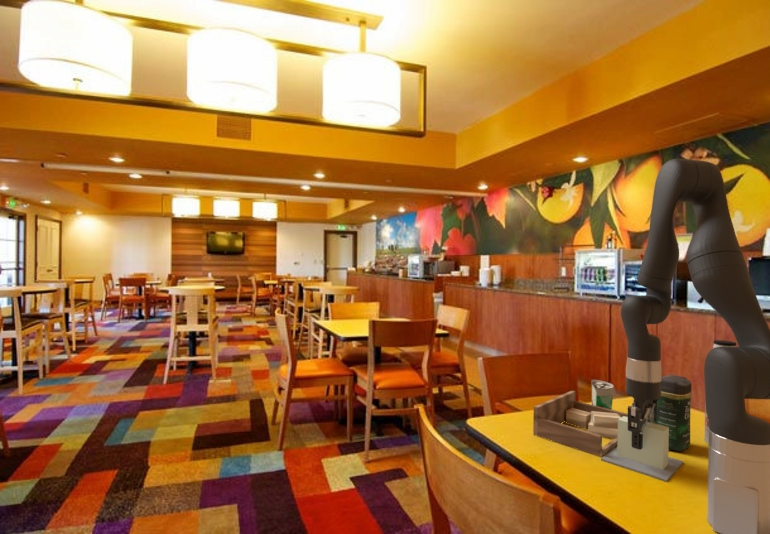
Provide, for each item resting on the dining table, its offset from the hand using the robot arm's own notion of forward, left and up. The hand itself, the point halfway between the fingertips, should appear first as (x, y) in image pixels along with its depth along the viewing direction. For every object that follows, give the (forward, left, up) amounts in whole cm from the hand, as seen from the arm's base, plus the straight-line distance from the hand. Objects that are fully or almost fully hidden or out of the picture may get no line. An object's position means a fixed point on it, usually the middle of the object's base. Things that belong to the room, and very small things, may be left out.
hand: (642, 444), depth 106 cm
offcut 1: (+13, +21, -4) cm, 25 cm away
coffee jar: (+17, -2, -4) cm, 18 cm away
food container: (+27, +19, -4) cm, 33 cm away
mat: (0, 0, -4) cm, 4 cm away
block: (0, 0, -4) cm, 4 cm away
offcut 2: (+11, +13, -2) cm, 17 cm away
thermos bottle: (+29, -11, -4) cm, 31 cm away
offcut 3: (+11, +13, -5) cm, 18 cm away
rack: (+7, +17, -4) cm, 19 cm away
